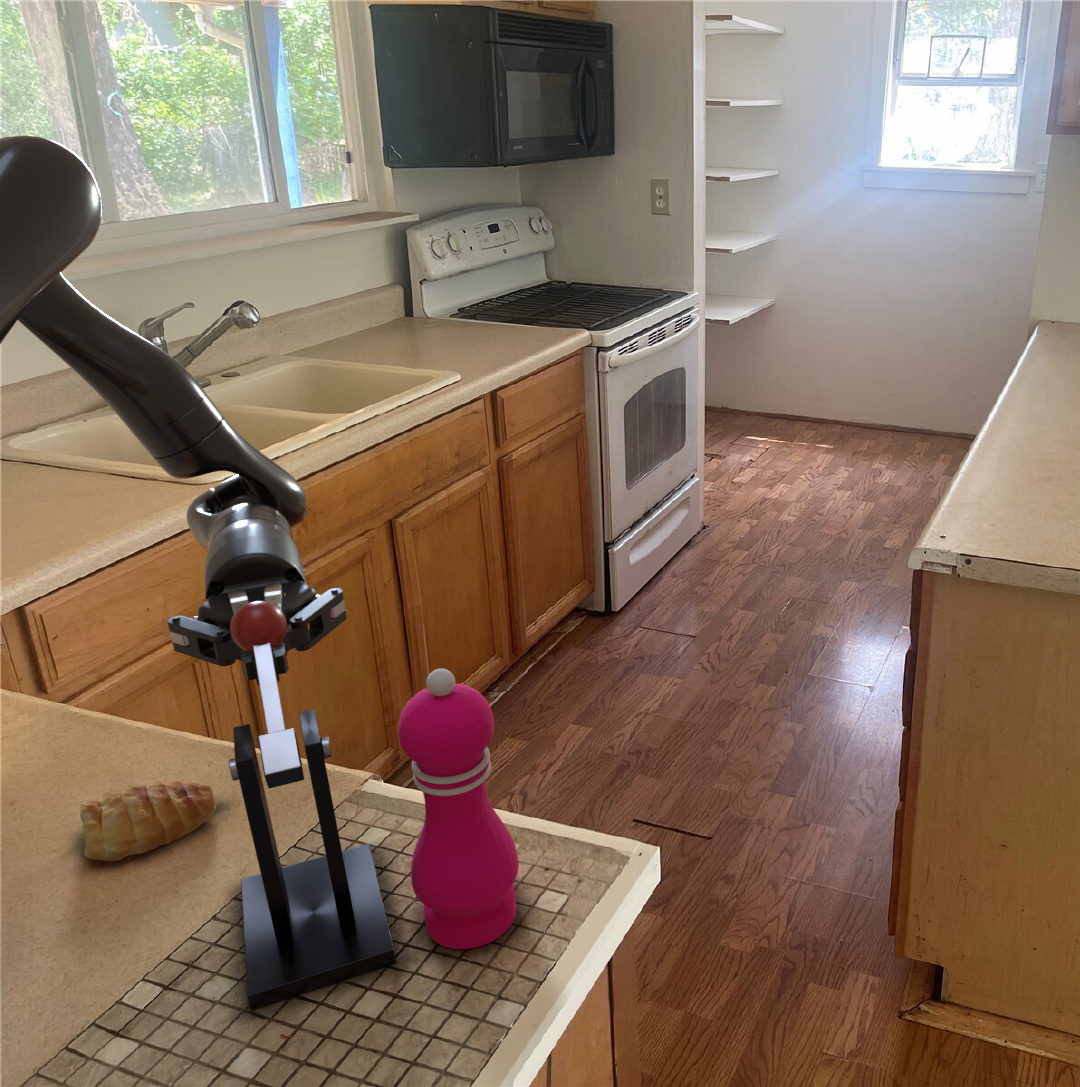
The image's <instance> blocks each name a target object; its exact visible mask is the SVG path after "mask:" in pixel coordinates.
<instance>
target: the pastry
mask: <svg viewBox="0 0 1080 1087" xmlns="http://www.w3.org/2000/svg"><path fill="white" fill-rule="evenodd" d="M216 809H217V806H216V800H215V797H214V793H213V789H212V787H211V786H210V785H207V784H201V783H198V782H183V781H180V780H176V781H171V782H168V783H167V782H166V783H163V782H161V781H155V782H152V783H150V784H143V785H142V784H138V783H131V784H130V785H128V786H127V787H126V788H125V789H124V790H120V789H119V790H118V789H108V790H106V791H105V792H104V793H103V794H102V795H101V796H100V798H99V799H95V800H85V801H83V802H81V804H80V810H79V812H80V814H79V816H80V821H81V824H82V830H83V836H84V846H85V849H84V857H85V858H86V859H89V860H95V861H96V860H97V861H104V862H115V861H123V859H124V858H125V857H128V856H131V855H141V854H144V853H147V852H150V851H153V850H155V849H156V848H157V847H160V846H163V845H166V844H170V843H171V842H172V841H174V840H180V838H182V837H184V836H186V835H189V834H191V833H193V832H194V831H195V830H196V829H198V828H199V827H200V826H202V825H203V823H205V822H206V821H208V820H210V819H211V818H212V817H213V815H214V813H215V812H216Z"/></svg>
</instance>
